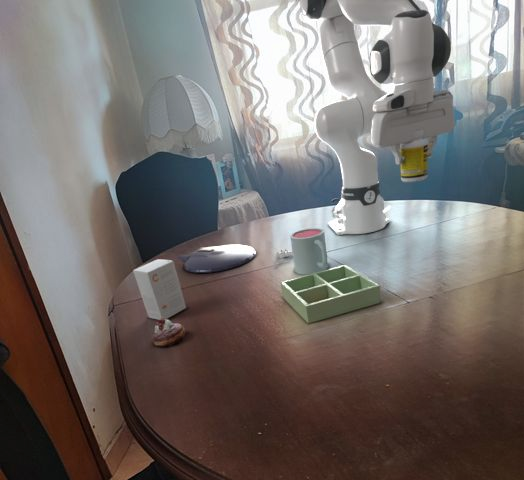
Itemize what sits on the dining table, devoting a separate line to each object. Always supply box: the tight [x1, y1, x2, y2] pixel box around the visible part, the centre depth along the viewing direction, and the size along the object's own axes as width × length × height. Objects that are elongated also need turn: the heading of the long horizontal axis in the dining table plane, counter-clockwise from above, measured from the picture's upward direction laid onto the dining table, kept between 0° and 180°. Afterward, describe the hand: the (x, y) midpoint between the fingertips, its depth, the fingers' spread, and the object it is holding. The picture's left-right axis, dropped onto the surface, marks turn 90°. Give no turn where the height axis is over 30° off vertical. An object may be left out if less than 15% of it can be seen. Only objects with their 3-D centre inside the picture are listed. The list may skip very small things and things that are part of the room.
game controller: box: [275, 248, 293, 266], centre depth 139 cm, size 6×12×3 cm, turn 176°
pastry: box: [152, 317, 186, 347], centre depth 104 cm, size 8×8×5 cm
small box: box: [132, 258, 187, 321], centre depth 116 cm, size 8×6×13 cm
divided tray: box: [280, 264, 382, 324], centre depth 108 cm, size 17×17×4 cm
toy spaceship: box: [177, 244, 257, 274], centre depth 152 cm, size 28×24×3 cm
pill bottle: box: [399, 130, 429, 183], centre depth 111 cm, size 6×6×11 cm
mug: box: [289, 227, 329, 275], centre depth 125 cm, size 14×9×10 cm
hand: (413, 160), depth 111 cm, fingers closed on pill bottle, 6 cm apart
